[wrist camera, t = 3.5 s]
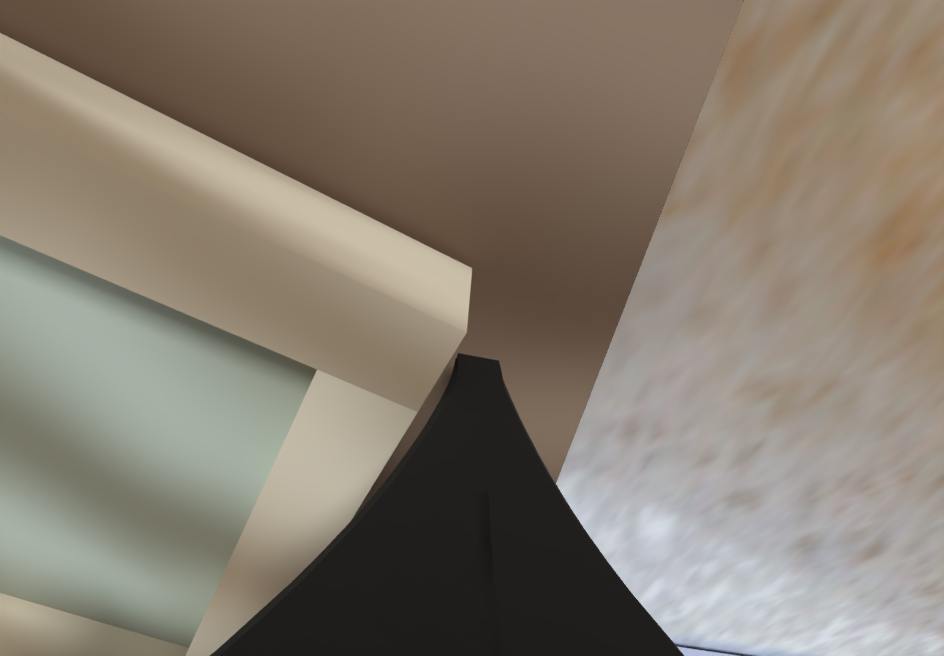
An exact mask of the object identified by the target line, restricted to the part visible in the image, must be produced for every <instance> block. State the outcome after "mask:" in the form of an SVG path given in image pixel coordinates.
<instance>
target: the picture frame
mask: <svg viewBox="0 0 944 656" xmlns="http://www.w3.org/2000/svg"><path fill="white" fill-rule="evenodd" d="M471 277H472V268H471V267H469V266H466V265H464V264H462V263H460V262H458V261H456V260H454V259H452V258H450V257H448V256H446V255H444V254H442V253H440V252H438V251H436V250H434V249H432V248H430V247H428V246H426V245H424V244H422V243H420V242H418V241H416V240H414V239H412V238H410V237H408V236H406V235H404V234H402V233H400V232H398V231H396V230H394V229H392V228H390V227H388V226H386V225H384V224H382V223H380V222H378V221H376V220H374V219H372V218H370V217H368V216H366V215H364V214H362V213H360V212H358V211H356V210H354V209H352V208H350V207H348V206H346V205H344V204H342V203H340V202H338V201H336V200H334V199H332V198H330V197H328V196H326V195H324V194H322V193H320V192H318V191H316V190H314V189H312V188H310V187H308V186H306V185H304V184H302V183H300V182H298V181H296V180H294V179H292V178H290V177H288V176H286V175H284V174H282V173H280V172H278V171H276V170H274V169H272V168H270V167H268V166H266V165H264V164H262V163H260V162H258V161H256V160H254V159H252V158H250V157H248V156H246V155H244V154H242V153H240V152H238V151H236V150H234V149H232V148H230V147H228V146H226V145H224V144H222V143H220V142H218V141H216V140H214V139H212V138H210V137H208V136H206V135H204V134H202V133H200V132H198V131H196V130H194V129H192V128H190V127H188V126H186V125H184V124H182V123H180V122H178V121H176V120H174V119H172V118H170V117H168V116H166V115H164V114H162V113H160V112H158V111H156V110H154V109H152V108H150V107H148V106H146V105H144V104H142V103H140V102H138V101H136V100H134V99H132V98H130V97H128V96H126V95H124V94H122V93H120V92H118V91H116V90H114V89H112V88H110V87H108V86H106V85H104V84H102V83H100V82H98V81H96V80H94V79H92V78H90V77H88V76H86V75H84V74H82V73H80V72H78V71H76V70H74V69H72V68H70V67H68V66H66V65H64V64H62V63H60V62H58V61H56V60H54V59H52V58H50V57H48V56H46V55H44V54H42V53H40V52H38V51H36V50H34V49H32V48H30V47H28V46H25V45H23V44H21V43H19V42H17V41H15V40H13V39H11V38H9V37H7V36H5V35H3V34H1V33H0V656H210V655H211V654H212V653H213V652H215V651H216V650H217V649H218V648H219V647H220V646H222V645H223V644H224V643H225V642H226V641H227V640H228V639H229V638H230V637H232V636H233V635H234V634H235V633H236V632H237V631H238V630H239V629H240V628H241V627H243V626H244V625H245V624H246V623H247V622H248V621H249V620H250V619H251V618H252V617H254V616H255V615H256V614H257V613H258V612H259V611H260V610H261V609H262V608H263V607H265V606H266V605H267V604H268V603H269V602H270V601H271V600H272V599H273V598H275V597H276V596H277V595H278V594H279V593H280V592H281V591H282V590H283V589H284V588H286V587H287V586H288V585H289V584H290V583H291V582H292V581H293V580H294V579H295V578H296V577H297V576H298V575H299V574H300V573H301V572H302V571H303V570H304V569H305V568H306V567H307V566H308V565H309V564H310V563H311V562H312V561H313V560H314V559H315V558H316V557H317V556H318V555H319V554H320V553H321V552H322V551H323V550H324V549H325V548H326V547H327V546H328V545H329V544H330V543H331V542H332V541H333V540H334V538H335V537H336V536H337V535H338V534H339V533H340V532H341V531H342V530H343V529H344V528H345V527H346V526H347V525H348V524H349V523H350V522H351V520H352V518H353V517H354V515H355V513H356V512H357V510H358V509H359V507H360V505H361V504H362V502H363V500H364V499H365V497H366V496H367V494H368V492H369V491H370V489H371V487H372V486H373V484H374V483H375V481H376V479H377V478H378V476H379V474H380V473H381V471H382V470H383V468H384V466H385V465H386V463H387V461H388V460H389V458H390V457H391V455H392V453H393V452H394V450H395V448H396V447H397V445H398V444H399V442H400V440H401V439H402V437H403V435H404V434H405V432H406V430H407V429H408V427H409V426H410V424H411V422H412V421H413V419H414V417H415V416H416V414H417V413H418V411H419V409H420V408H421V406H422V404H423V403H424V401H425V400H426V398H427V396H428V395H429V393H430V391H431V390H432V388H433V387H434V385H435V383H436V382H437V380H438V378H439V377H440V375H441V374H442V372H443V370H444V369H445V367H446V365H447V364H448V362H449V361H450V359H451V357H452V356H453V354H454V352H455V351H456V349H457V348H458V346H459V344H460V343H461V341H462V339H463V338H464V336H465V335H466V333H467V324H468V312H469V300H470V289H471Z"/></svg>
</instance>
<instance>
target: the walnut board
mask: <svg viewBox="0 0 944 656" xmlns="http://www.w3.org/2000/svg"><path fill="white" fill-rule="evenodd" d="M743 1H744V0H0V33H1V34H3V35H5V36H7V37H9V38H11V39H13V40H15V41H17V42H19V43H21V44H23V45H25V46H28V47H30V48H32V49H34V50H36V51H38V52H40V53H42V54H44V55H46V56H48V57H50V58H52V59H54V60H56V61H58V62H60V63H62V64H64V65H66V66H68V67H70V68H72V69H74V70H76V71H78V72H80V73H82V74H84V75H86V76H88V77H90V78H92V79H94V80H96V81H98V82H100V83H102V84H104V85H106V86H108V87H110V88H112V89H114V90H116V91H118V92H120V93H122V94H124V95H126V96H128V97H130V98H132V99H134V100H136V101H138V102H140V103H142V104H144V105H146V106H148V107H150V108H152V109H154V110H156V111H158V112H160V113H162V114H164V115H166V116H168V117H170V118H172V119H174V120H176V121H178V122H180V123H182V124H184V125H186V126H188V127H190V128H192V129H194V130H196V131H198V132H200V133H202V134H204V135H206V136H208V137H210V138H212V139H214V140H216V141H218V142H220V143H222V144H224V145H226V146H228V147H230V148H232V149H234V150H236V151H238V152H240V153H242V154H244V155H246V156H248V157H250V158H252V159H254V160H256V161H258V162H260V163H262V164H264V165H266V166H268V167H270V168H272V169H274V170H276V171H278V172H280V173H282V174H284V175H286V176H288V177H290V178H292V179H294V180H296V181H298V182H300V183H302V184H304V185H306V186H308V187H310V188H312V189H314V190H316V191H318V192H320V193H322V194H324V195H326V196H328V197H330V198H332V199H334V200H336V201H338V202H340V203H342V204H344V205H346V206H348V207H350V208H352V209H354V210H356V211H358V212H360V213H362V214H364V215H366V216H368V217H370V218H372V219H374V220H376V221H378V222H380V223H382V224H384V225H386V226H388V227H390V228H392V229H394V230H396V231H398V232H400V233H402V234H404V235H406V236H408V237H410V238H412V239H414V240H416V241H418V242H420V243H422V244H424V245H426V246H428V247H430V248H432V249H434V250H436V251H438V252H440V253H442V254H444V255H446V256H448V257H450V258H452V259H454V260H456V261H458V262H460V263H462V264H464V265H466V266H469V267H471V268H472V277H471V289H470V300H469V312H468V324H467V333H466V335H465V336H464V338H463V339H462V341H461V343H460V344H459V346H458V348H457V349H456V351H455V352H454V354H453V356H452V357H451V359H450V361H449V362H448V364H447V365H446V367H445V369H444V370H443V372H442V374H441V375H440V377H439V378H438V380H437V382H436V383H435V385H434V387H433V388H432V390H431V391H430V393H429V395H428V396H427V398H426V400H425V401H424V403H423V404H422V406H421V408H420V409H419V411H418V413H417V414H416V416H415V417H414V419H413V421H412V422H411V424H410V426H409V427H408V429H407V430H406V432H405V434H404V435H403V437H402V439H401V440H400V442H399V444H398V445H397V447H396V448H395V450H394V452H393V453H392V455H391V457H390V458H389V460H388V461H387V463H386V465H385V466H384V468H383V470H382V471H381V473H380V474H379V476H378V478H377V479H376V481H375V483H374V484H373V486H372V487H371V489H370V491H369V492H368V494H367V496H366V497H365V499H364V500H363V502H362V504H361V505H360V507H359V509H358V510H357V512H356V513H355V515H354V517H355V516H356V515H357V514H358V513H359V511H360V510H361V509H362V508H363V507H364V506H365V505H366V503H367V502H368V501H369V500H370V499H371V498H372V496H373V495H374V494H375V493H376V492H377V490H378V489H379V488H380V487H381V486H382V484H383V483H384V482H385V481H386V479H387V478H388V477H389V475H390V474H391V473H392V472H393V470H394V469H395V468H396V466H397V465H398V464H399V462H400V461H401V459H402V458H403V457H404V455H405V454H406V452H407V451H408V450H409V448H410V447H411V445H412V444H413V443H414V441H415V440H416V438H417V437H418V436H419V434H420V433H421V431H422V430H423V428H424V426H425V425H426V423H427V421H428V420H429V418H430V416H431V415H432V413H433V411H434V410H435V408H436V406H437V405H438V403H439V401H440V399H441V397H442V395H443V393H444V391H445V389H446V387H447V385H448V383H449V381H450V378H451V376H452V372H453V367H454V363H455V358H457V354H458V353H461V354H466V355H472V356H477V357H482V358H488V359H493V360H499V363H500V367H501V371H502V377H503V380H504V383H505V385H506V388H507V390H508V392H509V395H510V397H511V399H512V401H513V404H514V406H515V408H516V410H517V412H518V415H519V417H520V419H521V421H522V423H523V425H524V427H525V429H526V431H527V433H528V435H529V437H530V439H531V440H532V442H533V444H534V446H535V448H536V450H537V452H538V454H539V456H540V458H541V459H542V461H543V463H544V465H545V466H546V468H547V470H548V472H549V474H550V475H551V477H552V479H553V480H554V482H555V484H556V481H557V479H558V476H559V474H560V471H561V469H562V466H563V463H564V461H565V458H566V456H567V453H568V451H569V448H570V445H571V443H572V440H573V438H574V435H575V433H576V430H577V427H578V425H579V422H580V420H581V417H582V415H583V412H584V409H585V407H586V404H587V402H588V399H589V397H590V394H591V391H592V389H593V386H594V384H595V381H596V379H597V376H598V374H599V371H600V368H601V366H602V363H603V361H604V358H605V356H606V353H607V350H608V348H609V345H610V343H611V340H612V338H613V335H614V332H615V330H616V327H617V325H618V322H619V320H620V317H621V314H622V312H623V309H624V307H625V304H626V302H627V299H628V296H629V294H630V291H631V289H632V286H633V284H634V281H635V278H636V276H637V273H638V271H639V268H640V266H641V263H642V260H643V258H644V255H645V253H646V250H647V248H648V245H649V242H650V240H651V237H652V235H653V232H654V230H655V227H656V225H657V222H658V219H659V217H660V214H661V212H662V209H663V207H664V204H665V201H666V199H667V196H668V194H669V191H670V189H671V186H672V183H673V181H674V178H675V176H676V173H677V171H678V168H679V165H680V163H681V160H682V158H683V155H684V153H685V150H686V147H687V145H688V142H689V140H690V137H691V135H692V132H693V129H694V127H695V124H696V122H697V119H698V117H699V114H700V111H701V109H702V106H703V104H704V101H705V99H706V96H707V93H708V91H709V88H710V86H711V83H712V81H713V78H714V75H715V73H716V70H717V68H718V65H719V63H720V60H721V58H722V55H723V52H724V50H725V47H726V45H727V42H728V40H729V37H730V34H731V32H732V29H733V27H734V24H735V22H736V19H737V16H738V14H739V11H740V9H741V6H742V4H743ZM354 517H353V518H354ZM353 518H352V519H353Z"/></svg>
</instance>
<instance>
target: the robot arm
mask: <svg viewBox="0 0 944 656" xmlns="http://www.w3.org/2000/svg"><path fill="white" fill-rule="evenodd" d="M210 656H739V655H732V654H725V653H718V652H711V651H705V650H698V649H691V648H684V647H678V646H676V645H675V644H674V643H673V642H672V640H671V639H670V638H669V637H668V636H667V635H666V633H665V632H664V631H663V630H662V629H661V627H660V626H659V625H658V624H657V623H656V622H655V620H654V619H653V618H652V617H651V616H650V614H649V613H648V612H647V611H646V610H645V609H644V607H643V606H642V605H641V604H640V603H639V601H638V600H637V599H636V598H635V597H634V596H633V594H632V593H631V592H630V591H629V589H628V588H627V587H626V585H625V584H624V583H623V581H622V580H621V579H620V577H619V576H618V575H617V574H616V572H615V571H614V570H613V568H612V567H611V566H610V564H609V563H608V562H607V560H606V559H605V558H604V556H603V555H602V553H601V552H600V551H599V549H598V548H597V546H596V545H595V544H594V542H593V541H592V539H591V538H590V537H589V535H588V534H587V532H586V531H585V529H584V528H583V526H582V525H581V523H580V522H579V520H578V519H577V517H576V516H575V514H574V513H573V511H572V510H571V508H570V506H569V505H568V503H567V502H566V500H565V498H564V497H563V495H562V494H561V492H560V490H559V489H558V487H557V485H556V484H555V482H554V480H553V479H552V477H551V475H550V474H549V472H548V470H547V468H546V466H545V465H544V463H543V461H542V459H541V458H540V456H539V454H538V452H537V450H536V448H535V446H534V444H533V442H532V440H531V439H530V437H529V435H528V433H527V431H526V429H525V427H524V425H523V423H522V421H521V419H520V417H519V415H518V412H517V410H516V408H515V406H514V404H513V401H512V399H511V397H510V395H509V392H508V390H507V388H506V385H505V383H504V380H503V377H502V371H501V367H500V363H499V360H493V359H488V358H482V357H477V356H472V355H466V354H461V353H458V354H457V358H455V363H454V367H453V372H452V376H451V378H450V381H449V383H448V385H447V387H446V389H445V391H444V393H443V395H442V397H441V399H440V401H439V403H438V405H437V406H436V408H435V410H434V411H433V413H432V415H431V416H430V418H429V420H428V421H427V423H426V425H425V426H424V428H423V430H422V431H421V433H420V434H419V436H418V437H417V438H416V440H415V441H414V443H413V444H412V445H411V447H410V448H409V450H408V451H407V452H406V454H405V455H404V457H403V458H402V459H401V461H400V462H399V464H398V465H397V466H396V468H395V469H394V470H393V472H392V473H391V474H390V475H389V477H388V478H387V479H386V481H385V482H384V483H383V484H382V486H381V487H380V488H379V489H378V490H377V492H376V493H375V494H374V495H373V496H372V498H371V499H370V500H369V501H368V502H367V503H366V505H365V506H364V507H363V508H362V509H361V510H360V511H359V513H358V514H357V515H356V516H355V517H354V518H353V519H352V520H351V522H350V523H349V524H348V525H347V526H346V527H345V528H344V529H343V530H342V531H341V532H340V533H339V534H338V535H337V536H336V537H335V538H334V540H333V541H332V542H331V543H330V544H329V545H328V546H327V547H326V548H325V549H324V550H323V551H322V552H321V553H320V554H319V555H318V556H317V557H316V558H315V559H314V560H313V561H312V562H311V563H310V564H309V565H308V566H307V567H306V568H305V569H304V570H303V571H302V572H301V573H300V574H299V575H298V576H297V577H296V578H295V579H294V580H293V581H292V582H291V583H290V584H289V585H288V586H287V587H286V588H284V589H283V590H282V591H281V592H280V593H279V594H278V595H277V596H276V597H275V598H273V599H272V600H271V601H270V602H269V603H268V604H267V605H266V606H265V607H263V608H262V609H261V610H260V611H259V612H258V613H257V614H256V615H255V616H254V617H252V618H251V619H250V620H249V621H248V622H247V623H246V624H245V625H244V626H243V627H241V628H240V629H239V630H238V631H237V632H236V633H235V634H234V635H233V636H232V637H230V638H229V639H228V640H227V641H226V642H225V643H224V644H223V645H222V646H220V647H219V648H218V649H217V650H216V651H215V652H213V653H212V654H211V655H210Z"/></svg>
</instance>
